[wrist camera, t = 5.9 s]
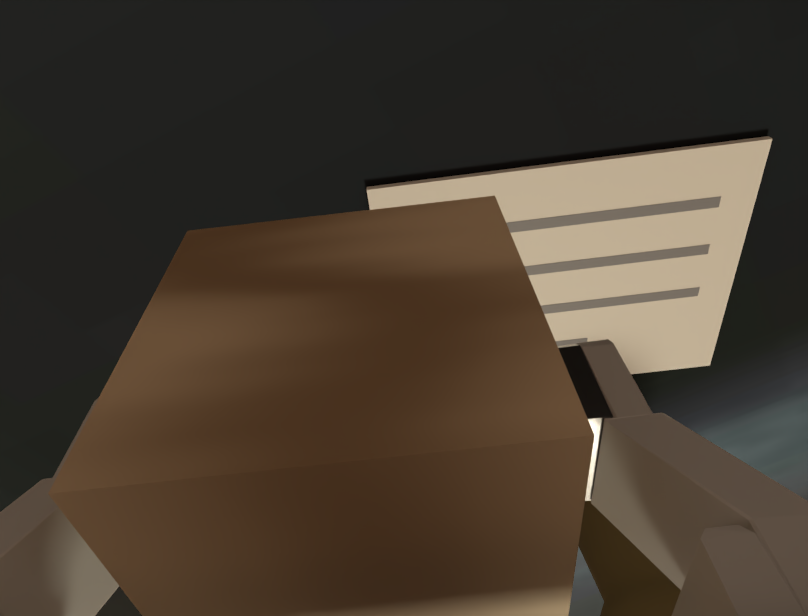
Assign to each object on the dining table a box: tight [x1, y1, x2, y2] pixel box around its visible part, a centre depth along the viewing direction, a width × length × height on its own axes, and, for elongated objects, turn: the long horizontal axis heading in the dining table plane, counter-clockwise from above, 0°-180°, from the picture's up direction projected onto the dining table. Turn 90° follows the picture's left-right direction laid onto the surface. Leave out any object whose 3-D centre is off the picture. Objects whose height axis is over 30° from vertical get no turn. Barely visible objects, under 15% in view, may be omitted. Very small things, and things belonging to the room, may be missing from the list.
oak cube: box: [48, 196, 595, 616], centre depth 9 cm, size 5×5×5 cm
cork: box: [578, 501, 681, 616], centre depth 30 cm, size 6×6×11 cm
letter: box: [367, 136, 772, 374], centre depth 26 cm, size 16×12×1 cm
